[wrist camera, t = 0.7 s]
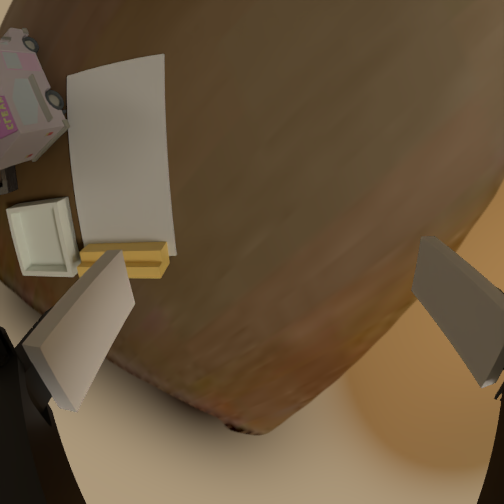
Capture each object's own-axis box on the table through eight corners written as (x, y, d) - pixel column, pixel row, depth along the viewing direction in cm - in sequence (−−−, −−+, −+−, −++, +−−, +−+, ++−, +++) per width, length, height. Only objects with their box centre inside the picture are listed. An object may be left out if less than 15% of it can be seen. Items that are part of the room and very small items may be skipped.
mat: (68, 76, 30) (66, 76, 30) (164, 54, 30) (163, 53, 30) (87, 255, 40) (86, 256, 40) (176, 254, 40) (175, 255, 40)
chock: (89, 243, 39) (74, 256, 35) (166, 241, 39) (157, 255, 35) (93, 262, 40) (79, 277, 36) (169, 262, 40) (160, 278, 36)
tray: (17, 203, 37) (6, 209, 34) (68, 196, 37) (56, 202, 34) (32, 267, 41) (22, 275, 39) (82, 267, 41) (73, 276, 38)
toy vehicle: (37, 26, 26) (-35, 14, 12) (82, 122, 32) (0, 136, 19) (2, 67, 28) (-69, 71, 14) (42, 161, 35) (-34, 190, 21)
